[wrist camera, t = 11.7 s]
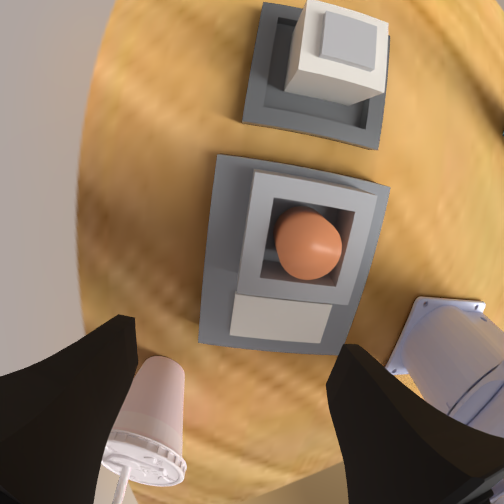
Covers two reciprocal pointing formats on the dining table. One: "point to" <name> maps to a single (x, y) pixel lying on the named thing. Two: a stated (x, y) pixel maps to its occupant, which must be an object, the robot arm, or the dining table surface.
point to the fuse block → (337, 54)
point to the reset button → (306, 243)
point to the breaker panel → (268, 264)
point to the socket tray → (299, 106)
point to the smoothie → (149, 429)
